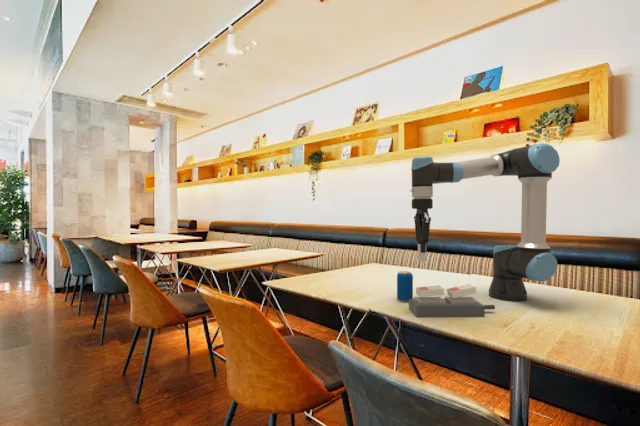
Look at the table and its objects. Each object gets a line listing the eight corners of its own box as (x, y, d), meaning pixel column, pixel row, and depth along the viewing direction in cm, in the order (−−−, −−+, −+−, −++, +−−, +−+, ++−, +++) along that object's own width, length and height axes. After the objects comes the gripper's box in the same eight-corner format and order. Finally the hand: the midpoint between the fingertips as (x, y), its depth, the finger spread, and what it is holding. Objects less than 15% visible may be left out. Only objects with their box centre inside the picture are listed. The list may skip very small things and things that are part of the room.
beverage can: (413, 303, 147) (413, 274, 146) (397, 302, 148) (397, 273, 148) (412, 298, 153) (412, 271, 153) (396, 298, 154) (397, 270, 154)
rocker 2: (470, 290, 136) (469, 283, 136) (476, 293, 131) (475, 286, 131) (447, 294, 136) (446, 288, 136) (453, 298, 131) (451, 291, 131)
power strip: (487, 308, 139) (487, 295, 139) (500, 316, 129) (500, 302, 129) (408, 308, 138) (409, 295, 138) (416, 317, 128) (416, 302, 128)
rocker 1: (439, 291, 136) (438, 285, 136) (444, 294, 131) (443, 288, 131) (416, 293, 136) (415, 287, 136) (420, 297, 131) (419, 290, 131)
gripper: (407, 198, 139) (407, 258, 139) (417, 198, 126) (417, 264, 126) (426, 198, 139) (426, 258, 140) (438, 197, 126) (438, 263, 126)
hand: (422, 260), depth 133 cm, fingers closed
